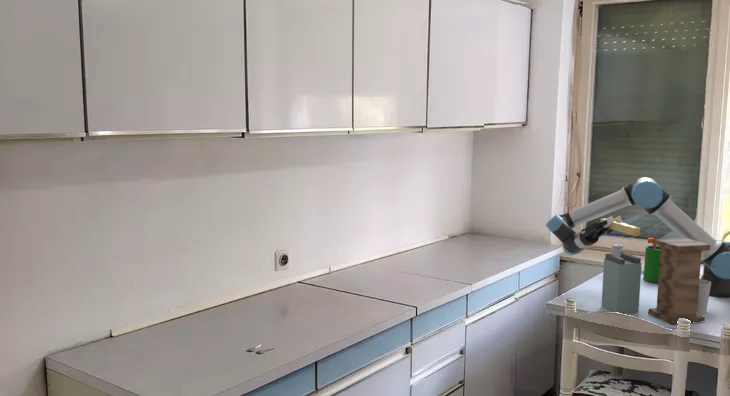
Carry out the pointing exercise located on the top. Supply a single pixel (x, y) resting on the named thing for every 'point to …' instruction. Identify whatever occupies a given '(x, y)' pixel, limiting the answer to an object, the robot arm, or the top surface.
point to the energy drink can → (617, 250)
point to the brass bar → (623, 228)
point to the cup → (703, 295)
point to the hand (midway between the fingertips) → (616, 219)
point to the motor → (652, 262)
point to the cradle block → (621, 283)
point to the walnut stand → (678, 279)
